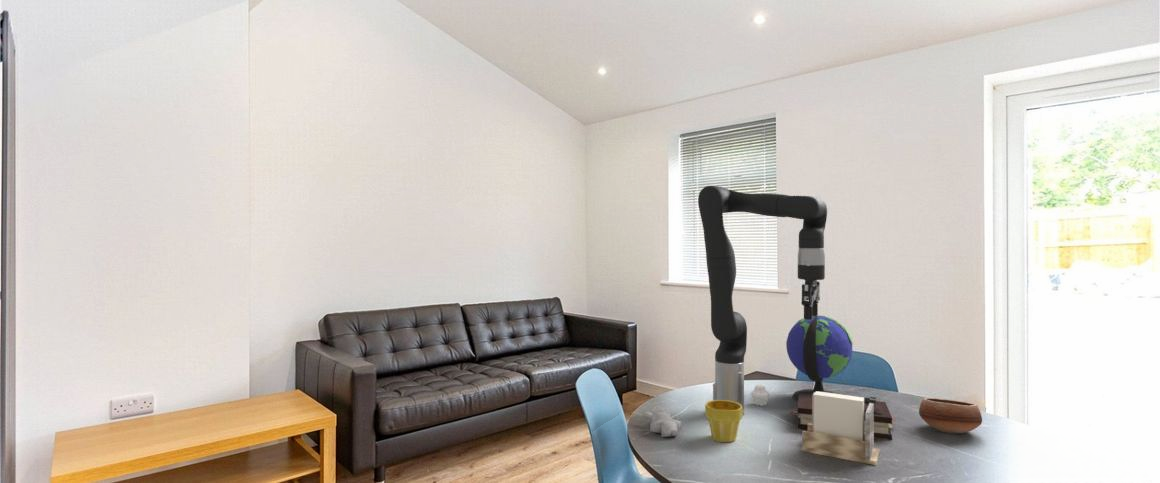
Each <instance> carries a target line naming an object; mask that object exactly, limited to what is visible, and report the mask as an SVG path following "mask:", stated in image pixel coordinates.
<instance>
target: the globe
mask: <svg viewBox="0 0 1160 483" xmlns="http://www.w3.org/2000/svg"><path fill="white" fill-rule="evenodd" d="M785 344H786V351H787V352H786V353H787V355H788V359H789V361H790V362H791V363H792V365H793V366H794V367H795V368H796V370H798V371H799V372H800V373H802V374H804V375H805V376H807V377H808V379H809V380H810V381H812V382H814V387H813V388H808V389H807V388H806V389H800V390H797V391H795V392H793V394H792V399H794V400H795V401H797V402H798V399H799V394H809V395H813V393H814V392H816V391H819V392H826V393H834V394H837V392H833V391H831V390H826V389H825V388H824V385H823V379H829V378H833V377H835V376H838V375H839V374H840V373H842V372H843V371H845V369H847V367H848V365H849V364H850V363H851V360H852V357H853V351H854V350H853V345H854V341H853V339H852V337H851V334H850V333H849V331H848V330H847V328H846V327H845V326H844V325H843V324H842V323H841V322H839V321H838V320H836V319H834V318H832V317H829V316H825V315H819V314H818V315H817V316H812V319H811V320H807V319H804V317H803V318H800V319H799V320H798V321H796V322H795V324H794V325H793V327H791V329H790V330H789V332H788V334H787V338H786V341H785Z"/></svg>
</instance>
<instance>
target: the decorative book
mask: <svg viewBox="0 0 1160 483" xmlns="http://www.w3.org/2000/svg"><path fill="white" fill-rule="evenodd" d="M863 398H864V432H865V413H866V410H867V408H868V406H869V403H873V404H874V439H882V440H889V441H892V440H893V435H892V432H891V429H893V426H892V425H893V422H896V421H897V420H896V417H892V415H891V411H890V410H889V407H888V405H887V403H886V401H879V400H877V397H874V396H873V397H872V396H870V397H863ZM789 414H790V415H797V429H799V430H804V431H808V423H811V424H812V395H809V394H799V399H798V401H797V412H793V411H792V412H791V411H790V412H789Z"/></svg>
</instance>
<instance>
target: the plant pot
mask: <svg viewBox="0 0 1160 483" xmlns="http://www.w3.org/2000/svg"><path fill="white" fill-rule="evenodd" d="M704 407H705V408H704V410H705V412H704V413H705V417H707V422H708V424H709V428H710V434H711V438H712V440H715V441H716V442H719V443H732V442H734V441H736V438H737V435H738V434H737V433H738V430H739V425H740V420H742V418H743V415H742V405H741V404H739V403H737V402H733V401H728V400H713V399H712V400H709V401H707V402H706V403H705V405H704Z"/></svg>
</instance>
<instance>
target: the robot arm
mask: <svg viewBox="0 0 1160 483" xmlns="http://www.w3.org/2000/svg"><path fill="white" fill-rule="evenodd" d="M697 197H698V198H697V204H698V208H699V209H698V210H699V214H700V219H701V224H702V230H703V238H704V248H705V258H706V259H705V260H706V267H707V268H706V269H707V275H708V284H709V285H708V286H709V295H710V327H711V332H712V334H713V336H714V337H715V339H716V340H718V341H719V344H718V345H719V346H718V348H717V349H716V351H715V354H714V362H715V363H714V372H715V373H714V383H713V384H712V400H728V401H733V402H737V403H739V404H741V405H742V416H743V415H744V414H745V355H746V353H747V341H748V338H747V337H748V327H747V325H748V324H747V321H746V319H745V317H744V316H743V315H742V314H741V313H739V312H737V311H734V307H733V306H734V305H733V293H734V287H735V284H736V283H735V282H736V276H737V266H736V264H737V263H736V256H735V251H734V247H733V245H732V243H731V240H730V238H729V236H728V234H727V231H726V229H725V224H724V216H723V215H724V214H728V213H749V214H750V213H751V214H755V215H760V216H766V217H775V218H791V219H792V218H793V219H796V220H798V219H799V220H803V221H802V228H801V229H800V230H799V232H798V251H797V279H799V280H803V281H804V284H803V283H802V284H801V302H800V303H801V305H802V307H803V318H804V319H807V320H811V319H812V316H817V315H819V311H818V310H819V309H818V308H819V306H818V304H819V303H820V302H819V301H820V300H821V297H820V294H821V293H820V287H821V286H820V284H821V283H820V281H822V280H823V281H824V280H825V278H826V274H825V272H826V268H825V267H826V264H825V263H826V258H825V257H826V255H825V236H824V233H825V229H826V223H827V219H828V208H827V207H828V206H827V203H826V202H825V201H824V200H823V199H822V198H821V197H818V196H810V195H787V194H783V193H781V194H779V193H762V192H761V193H760V192H759V193H749V192H748V193H747V192H740V191H735V190H732V189H728V188H726V187H722V186H718V185H717V186H716V185H706V186H704V187H703V188H702V189H701V190H700V191H699V194H698V196H697Z"/></svg>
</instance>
